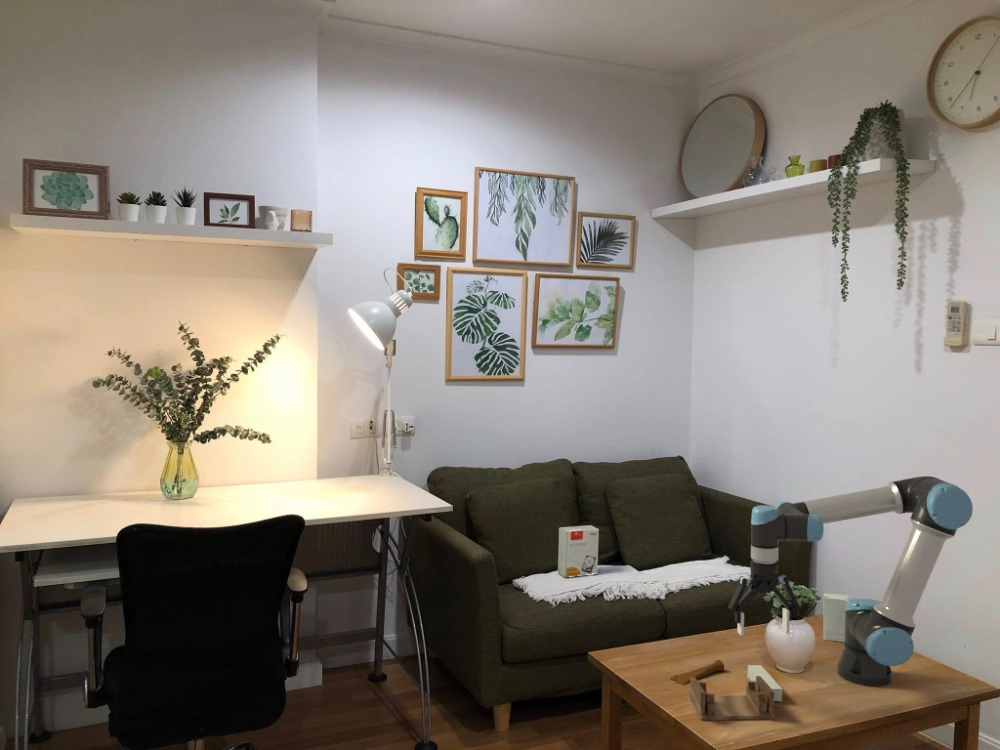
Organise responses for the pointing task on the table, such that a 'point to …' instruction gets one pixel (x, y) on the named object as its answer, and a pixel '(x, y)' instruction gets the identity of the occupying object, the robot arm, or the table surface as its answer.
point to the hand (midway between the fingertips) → (763, 632)
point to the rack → (733, 702)
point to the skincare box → (834, 616)
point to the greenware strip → (760, 671)
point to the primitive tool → (698, 672)
